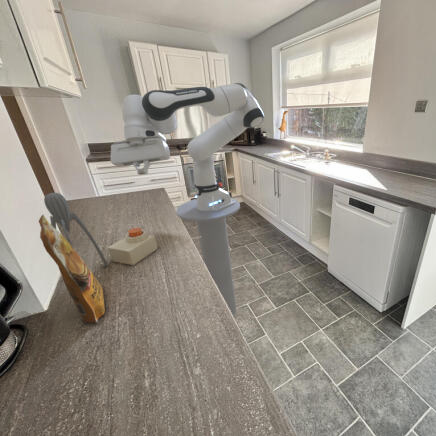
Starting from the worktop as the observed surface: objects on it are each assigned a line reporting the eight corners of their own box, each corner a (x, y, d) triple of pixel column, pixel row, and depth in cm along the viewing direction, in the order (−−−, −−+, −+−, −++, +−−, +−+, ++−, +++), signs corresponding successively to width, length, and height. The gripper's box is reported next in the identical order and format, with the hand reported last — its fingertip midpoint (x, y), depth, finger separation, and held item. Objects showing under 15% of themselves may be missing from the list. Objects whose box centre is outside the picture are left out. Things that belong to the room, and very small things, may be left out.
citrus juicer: (107, 265, 88) (77, 187, 76) (108, 279, 81) (75, 195, 68) (67, 276, 82) (27, 193, 69) (64, 293, 75) (19, 203, 62)
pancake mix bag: (75, 335, 61) (24, 240, 49) (77, 293, 75) (38, 211, 63) (107, 322, 65) (67, 231, 53) (104, 284, 78) (71, 205, 67)
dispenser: (138, 244, 101) (133, 228, 98) (158, 248, 99) (153, 231, 95) (112, 261, 91) (105, 242, 87) (133, 265, 88) (127, 246, 85)
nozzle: (136, 231, 96) (134, 227, 95) (145, 233, 95) (143, 228, 94) (126, 236, 92) (125, 232, 91) (136, 238, 91) (134, 233, 90)
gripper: (104, 138, 86) (107, 175, 84) (161, 130, 87) (166, 167, 85) (116, 146, 92) (119, 180, 91) (170, 138, 93) (174, 172, 92)
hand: (142, 174), depth 88 cm, fingers closed
